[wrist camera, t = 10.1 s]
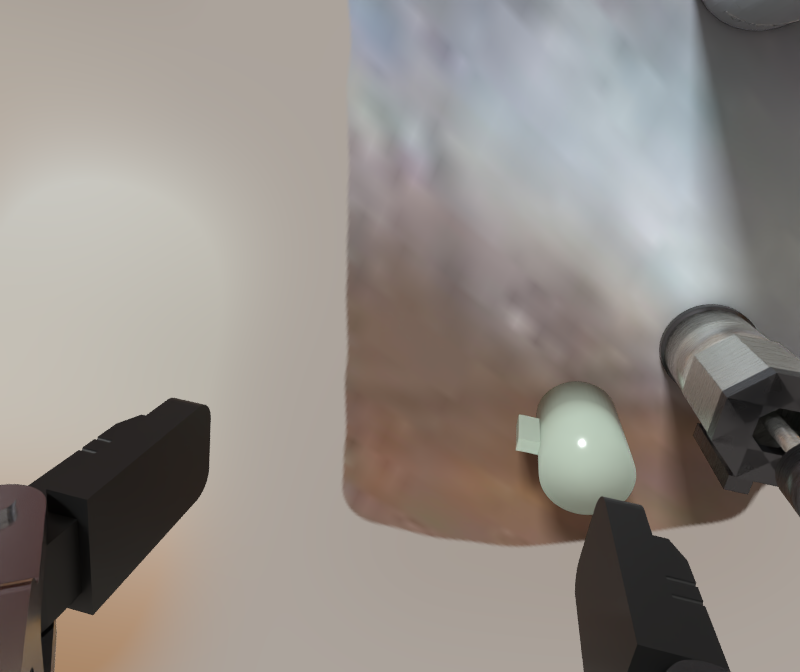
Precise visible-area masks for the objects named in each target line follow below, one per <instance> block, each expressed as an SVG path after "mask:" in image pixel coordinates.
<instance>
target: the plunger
mask: <svg viewBox="0 0 800 672" xmlns="http://www.w3.org/2000/svg"><path fill="white" fill-rule="evenodd" d="M758 420H759V421H760V422H761V423H762V425H763V426H764V427H765V428H766V429H767V431H768V432H769V433H770V434H771V435H772V437H773V438H774V439H775V440H776V441H777V443H778V444H779V445H780V446H781V447H782V449H783V450H784V451H785V452H786V453H785V454H784V455H783V456H782V458H781V459H780V460H779V462H778V464H777V467H776V472H775V478H776V483H777V485H778V487H779V489H780V490H781V492H782V493H783V495H784V496H785V497H786V499H787V500H788V501H789V503H790V504H791V505H792V507H793V508H794V509H795V511H796V512H797V514H798V515H799V516H800V437H799V436H798V435H797V434H796V433H795V432H794V431H793V429H792V428H791V427H790V426H789V425H788V424H787V423H786V422H785V421H784V420H783V419H782V418H781V416H780V415H779V414H778V413H777V412H776V411H773V412H770V413H768V414H766V415H764V416H762V417H760V418H759V419H758Z"/></svg>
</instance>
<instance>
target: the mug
mask: <svg viewBox="0 0 800 672" xmlns="http://www.w3.org/2000/svg"><path fill="white" fill-rule="evenodd" d="M516 450H518V451H523V452H527V453H532V454H536V455H538V467H539V480H540V483H541V486H542V489H543V491H544V492H545V494H546V495H547V496H548V498H549V499H550V500H551V501H552V502H553V503H555V504H556V505H557V506H559V507H561V508H562V509H564V510H567V511H569V512H572V513H576V514H582V515H593V513H594V509H595V506H596V503H597V501H598V499H599V498H600V497H601V496H603V497H607V498H612V499H616V500H621V501H625V500H626V499H627V498H628V497H629V495H630V494H631V492H632V490H633V488H634V485H635V481H636V469H635V465H634V461H633V459H632V456H631V453H630V450H629V447H628V444H627V441H626V438H625V435H624V432H623V429H622V426H621V423H620V420H619V417H618V414H617V411H616V408H615V406H614V403H613V401H612V400H611V398H610V397H609V396H608V395H607V394H606V393H605V392H604V391H603V390H602V389H600V388H599V387H597V386H595V385H592V384H589V383H586V382H567V383H563V384H560V385H558V386H556V387H554V388H552V389H551V390H550V391H548V392H547V393H546V394H545V395H544V396H543V398H542V399H541V401H540V403H539V405H538V408H537V413H536V418H534V417H529V416H524V415H520V414H519V416H518V421H517V425H516Z"/></svg>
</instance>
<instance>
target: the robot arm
mask: <svg viewBox="0 0 800 672" xmlns="http://www.w3.org/2000/svg"><path fill="white" fill-rule="evenodd" d="M702 1H703V3H704V4H705V6H706V7H707V9H708V10H709V11H710V12H711V13H712V14H713V15H714V16H716V17H717V18H718V19H719V20H721V21H722V22H724V23H726V24H728V25H730V26H732V27H736V28H740V29H744V30H768V29H773V28H778V27H782V26H784V25H787V24H790V23H793V22H796V21H799V20H800V0H702ZM210 420H211V415H210V410H209V408H208V406H206V405H203V404H199V403H194V402H190V401H185V400H181V399H177V398H170V399H168V400H167V401H165V402H164V403H162V404H161V405H160V406H158V407H157V408H156V409H154V410H153V411H152V412H150V413H149V414H147V415H146V416H145V415H139V416H137V417H134V418H131V419H128V420H125V421H123V422H120V423H117V424H115V425H114V426H113V427H111V428H110V429H108V430H107V431H105V432H104V433H103V434H101V435H100V436H98V439H97V440H95V439H94V440H93V441H91V442H90V443H88V444H87V445H85V446H84V447H83V449H82V451H80V450H78V451H77V452H75V453H74V454H73V455H71V456H70V457H68V458H67V459H65V460H64V461H63V462H61V463H60V464H58V465H57V466H56V467H54V468H53V469H51V470H50V471H48V472H47V473H45V474H44V475H43V476H41V477H40V478H38V479H37V480H36V481H34V482H33V483H31V484H30V485H28V486H26V485H19V484H7V485H0V672H54V667H55V651H56V633H57V632H56V619H57V617H59V616H60V614H61V613H62V612H63V611H64V610H65V609H66V608H70V609H73V610H77V611H80V612H84V613H88V614H91V615H94V614H95V612H96V611H97V610H98V609H99V608H100V607H101V606H102V604H104V602H105V601H106V600H107V599H108V598H109V597H110V596H111V595H112V594H113V593H114V591H115V590H116V589H117V588H118V587H119V586H120V585H121V584H122V583H123V581H124V580H125V579H126V578H127V577H128V576H129V575H130V574H131V573H132V571H133V570H134V569H135V568H136V567H137V566H138V565H139V564H140V563H141V561H142V560H143V559H144V558H145V557H146V556H147V555H148V554H149V553H150V552H151V550H152V549H153V548H154V547H155V546H156V545H157V544H158V543H159V542H160V540H161V539H162V538H163V537H164V536H165V535H166V533H167V532H169V530H170V529H171V528H172V527H173V526H174V525H175V524H176V523H177V522H178V520H179V519H180V518H181V517H182V516H183V515H184V514H185V513H186V512H187V510H188V509H189V508H190V507H191V506H192V505H193V504H194V503H195V502H196V501H197V499H198V498H199V497H200V495H201V493H202V491H203V489H204V487H205V484H206V481H207V478H208V473H209V453H210V422H211V421H210ZM695 585H696V582H695V579H694V576H693V574H692V571H691V569H690V566H689V564H688V561H687V560H686V559H685V557H684V556H683V555H682V554H681V553H680V552H679V551H678V549H676V547H675V546H674V545H673V544H672V543H671V542H670V540H669V539H666V538H662V537H657V536H654V535H652V532H651V529H650V526H649V523H648V520H647V517H646V514H645V511H644V508H643V507H642V506H641V505H638V504H634V503H629V502H625V501H621V500H616V499H612V498H607V497H603V496H601V497H600V498H599V499H598V501H597V503H596V506H595V509H594V513H593V516H592V519H591V522H590V526H589V529H588V532H587V536H586V539H585V542H584V546H583V549H582V552H581V556H580V559H579V563H578V567H577V573H576V582H575V597H576V605H577V615H578V624H579V633H580V641H581V650H582V659H583V668H584V672H730V669H729V667H728V664H727V661H726V659H725V656H724V654H723V651H722V649H721V646H720V643H719V641H718V638H717V636H716V633H715V631H714V628H713V625H712V623H711V620H710V618H709V615H708V613H707V610H706V607H705V606H703V600H702V597H701V595H700V592H699V589H698V587H696V586H695Z"/></svg>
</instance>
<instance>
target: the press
mask: <svg viewBox="0 0 800 672" xmlns="http://www.w3.org/2000/svg"><path fill="white" fill-rule="evenodd" d="M659 352H660V358H661V362H662V364H663V366H664V368H665V370H666V371H667V373H668V374H669V376H670V377H671V378H672V379H673V380H674V381H675V382H676V383H677V384H678V385H679V387H680V389H681V390H682V393H683V394H684V396H685V398H686V399H687V401H688V402H689V404H690V406H691V407H692V409H693V410H694V412H695V414H696V415H697V417H698V418H699V420H700V422H701V424H699V423H697V426H696V428H695V431H694V434H693V436H694V438H695V440H696V441H697V443H698V445H699V447H700V448H701V450H702V452H703V454H704V455H705V457H706V459H707V461H708V462H709V464H710V466H711V468H712V469H713V471H714V473H715V475H716V476H717V478H718V480H719V482H720V483H721V485H722V487H723V489H725V490H730V491H734V492H739V493H744V494H748V493H749V491H750V488H751V486H752V483H753V481H754V482H759V483H764V484H768V485H773V486H777V487H778V485H777V483H776V478H775V472H776V467H777V464H778V462H779V460H780V459H781V458H782V456H783V455H784V454H785V453H786V452H785V451H784V450H783V449H782V447H781V446H780V445H779V444H778V443H777V441H776V440H775V439H774V438H773V437H772V435H771V434H770V433H769V432H768V431H767V429H766V428H765V427H764V426H763V425H762V423H761V422H760V421H759V420H758V419H759V418H760V417H762V416H764V415H766V414H768V413H770V412H773V411H776V412H777V413H778V414H779V415H780V416H781V418H782V419H783V420H784V421H785V422H786V423H787V424H788V425H789V426H790V427H791V428H792V429H793V431H794V432H795V433H796V434H797V435H798V436H799V437H800V359H798V358H797V357H796V356H795V355H793V354H792V353H791V352H790V351H788V350H787V349H786V348H785V347H783V346H782V345H781V344H780V343H778V342H774V341H770V340H768V339H767V338H766V337H765V336H764V335H762V334H761V333H760V332H759V331H757V330H756V328H755V327H754V325H753V324H752V323H751V322H750V321H749V320H748V319H747V318H746V317H745V316H744V315H742V314H741V313H740V312H738V311H736V310H735V309H733V308H730V307H727V306H723V305H716V304H708V305H701V306H696V307H693V308H691V309H688V310H686V311H684V312H683V313H681V314H679V315H678V316H677V317H676V318H674V319H673V320H672V321H671V322H670V324H669V325H668V326H667V328H666V329H665V331H664V333H663V335H662V338H661V341H660V348H659Z"/></svg>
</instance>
